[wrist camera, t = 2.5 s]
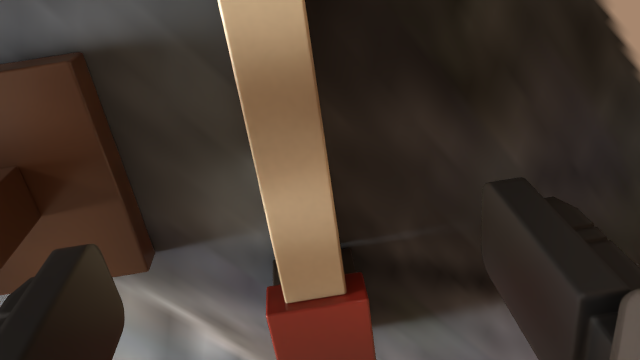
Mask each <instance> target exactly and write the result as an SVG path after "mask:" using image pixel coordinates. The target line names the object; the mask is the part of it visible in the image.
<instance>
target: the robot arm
mask: <svg viewBox="0 0 640 360" xmlns="http://www.w3.org/2000/svg"><path fill="white" fill-rule="evenodd" d="M481 251H482V257H483V262H484V265H485V268H486V271H487V273H488V275H489V277H490V279H491V280H492V282H493V284H494V285H495V287H496V289H497V290H498V292H499V294H500V295H501V297H502V299H503V300H504V302H505V304H506V305H507V307H508V309H509V311H510V312H511V314H512V316H513V317H514V319H515V321H516V322H517V324H518V326H519V327H520V329H521V331H522V332H523V334H524V336H525V337H526V339H527V341H528V343H529V344H530V346H531V348H532V349H533V351H534V353H535V354H536V356H537V358H538V359H539V360H640V268H639V267H638V266H637V265H636V264H635V263H634V262H633V261H632V260H630V259H629V258H628V257H627V256H626V255H625V254H624V253H623V252H622V251H621V250H620V249H619V248H618V247H617V246H616V245H615V244H614V243H613V242H612V241H611V240H607V236H606V235H605V234H603V233H602V232H601V231H600V230H599V229H598V228H597V227H594V225H593V223H592V222H591V221H590V220H589V219H588V218H587V217H586V216H585V215H584V214H583V213H582V212H581V211H580V210H579V209H577V208H576V207H574V206H571V205H569V204H567V203H565V202H563V201H561V200H559V199H557V198H555V197H549V198H543V197H542V196H541V195H540V194H539V193H538V191H537V190H536V189H535V188H534V187H533V186H532V185H531V184H530V183H529V182H528V181H527V180H526V179H525V178H522V177H520V178H514V179H508V180H501V181H495V182H488V183H485V184H484V186H483V189H482V215H481ZM123 328H124V308H123V303H122V300H121V298H120V295H119V293H118V290H117V288H116V286H115V283H114V281H113V278H112V276H111V274H110V271H109V269H108V266H107V264H106V262H105V259H104V257H103V254H102V252H101V250H100V249H99V247H98V246H97V245H95V244H86V245H79V246H73V247H67V248H60V249H55V250H53V251H52V252H51V253H50V255H49V256H48V258H47V259H46V261H45V262H44V264H43V265H42V267H41V268H40V270H39V271H38V273H37V274H36V275H35V277H31V278H29V279H28V280H27V281H26V282H25V283H23V284H22V285H21V286H20V287H19V288H17V289H16V290H15V291H14V292H13V293H11V294H10V295H9V296H8V297H7V298H6V300H5V301H4V303H3V304H2V305H1V307H0V360H112V358H113V356H114V353H115V350H116V348H117V345H118V342H119V340H120V337H121V334H122V331H123Z"/></svg>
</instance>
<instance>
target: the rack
mask: <svg viewBox="0 0 640 360" xmlns="http://www.w3.org/2000/svg"><path fill="white" fill-rule="evenodd" d="M86 244H95V245H97V246H98V247H99V249H100V250H101V252H102V254H103V257H104V259H105V262H106V264H107V266H108V269H109V271H110V274H111V276H112V277H117V276H124V275H130V274H136V273H142V272H147V271H149V269H150V266H151V263H152V260H153V258H154V255H155V252H154V249H153V246H152V243H151V241H150V238H149V235H148V232H147V230H146V227H145V224H144V221H143V219H142V216H141V213H140V210H139V208H138V205H137V202H136V199H135V197H134V194H133V191H132V188H131V186H130V183H129V180H128V177H127V175H126V172H125V169H124V166H123V164H122V161H121V158H120V155H119V152H118V150H117V147H116V144H115V141H114V139H113V136H112V133H111V130H110V128H109V125H108V122H107V119H106V117H105V114H104V111H103V108H102V106H101V103H100V100H99V97H98V95H97V92H96V89H95V86H94V84H93V81H92V78H91V75H90V73H89V70H88V67H87V64H86V62H85V59H84V56H83V54H82V53H81V52H76V53H70V54H63V55H57V56H51V57H44V58H38V59H31V60H25V61H19V62H12V63H6V64H0V295H5V294H11V293H13V292H14V291H15V290H16V289H17V288H19V287H20V286H21V285H22V284H23V283H25V282H26V281H27V280H28V279H29V278H31V277H35V275H36V274H37V273H38V271H39V270H40V268H41V267H42V265H43V264H44V262H45V261H46V259H47V258H48V256H49V255H50V253H51V252H52V251H53V250H55V249H60V248H67V247H73V246H79V245H86Z"/></svg>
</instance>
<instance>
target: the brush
mask: <svg viewBox="0 0 640 360" xmlns="http://www.w3.org/2000/svg"><path fill="white" fill-rule="evenodd" d="M218 4H219V9H220V13H221V18H222V22H223V27H224V31H225V36H226V40H227V45H228V49H229V54H230V58H231V63H232V67H233V72H234V76H235V80H236V85H237V89H238V94H239V98H240V103H241V107H242V112H243V116H244V121H245V125H246V130H247V134H248V139H249V143H250V148H251V152H252V157H253V161H254V165H255V170H256V174H257V179H258V183H259V188H260V192H261V197H262V201H263V206H264V210H265V215H266V219H267V224H268V228H269V233H270V237H271V242H272V246H273V250H274V255H275V259H276V260H273V286H269V287H267V290H266V319H267V323H268V327H269V330H270V334H271V338H272V342H273V346H274V350H275V354H276V358H277V360H376V356H375V347H374V339H373V331H372V322H371V314H370V305H369V298H368V294H367V290H366V286H365V282H364V278H363V274H362V273H361V272H356V269H355V264H354V260H353V256H352V251H351V249H350V248H347V249H341V248H340V241H339V234H338V227H337V220H336V213H335V206H334V199H333V192H332V185H331V178H330V172H329V165H328V158H327V151H326V144H325V137H324V130H323V123H322V116H321V109H320V102H319V95H318V89H317V82H316V75H315V68H314V61H313V54H312V47H311V40H310V33H309V26H308V19H307V12H306V5H305V0H218Z"/></svg>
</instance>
